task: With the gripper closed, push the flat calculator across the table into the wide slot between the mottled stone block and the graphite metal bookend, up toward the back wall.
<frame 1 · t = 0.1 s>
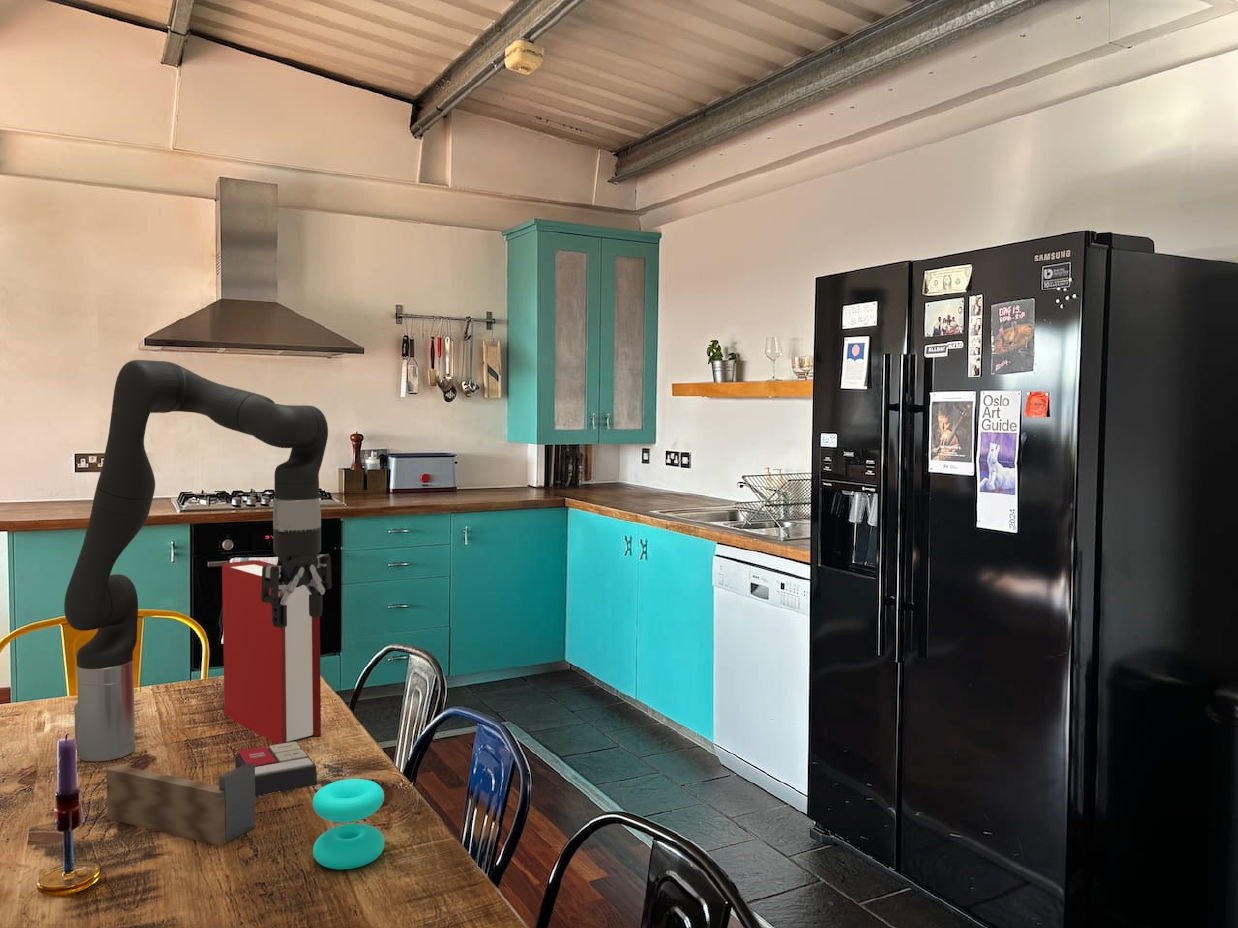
hand: (298, 621, 157), 29 cm above the table, tool pointing down, fingers open, 8 cm apart
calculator: (275, 779, 166), on the table
bookend: (247, 828, 145), on the table
mottled stone block: (193, 816, 149), on the table
donuts: (349, 857, 137), on the table
book: (269, 725, 192), on the table
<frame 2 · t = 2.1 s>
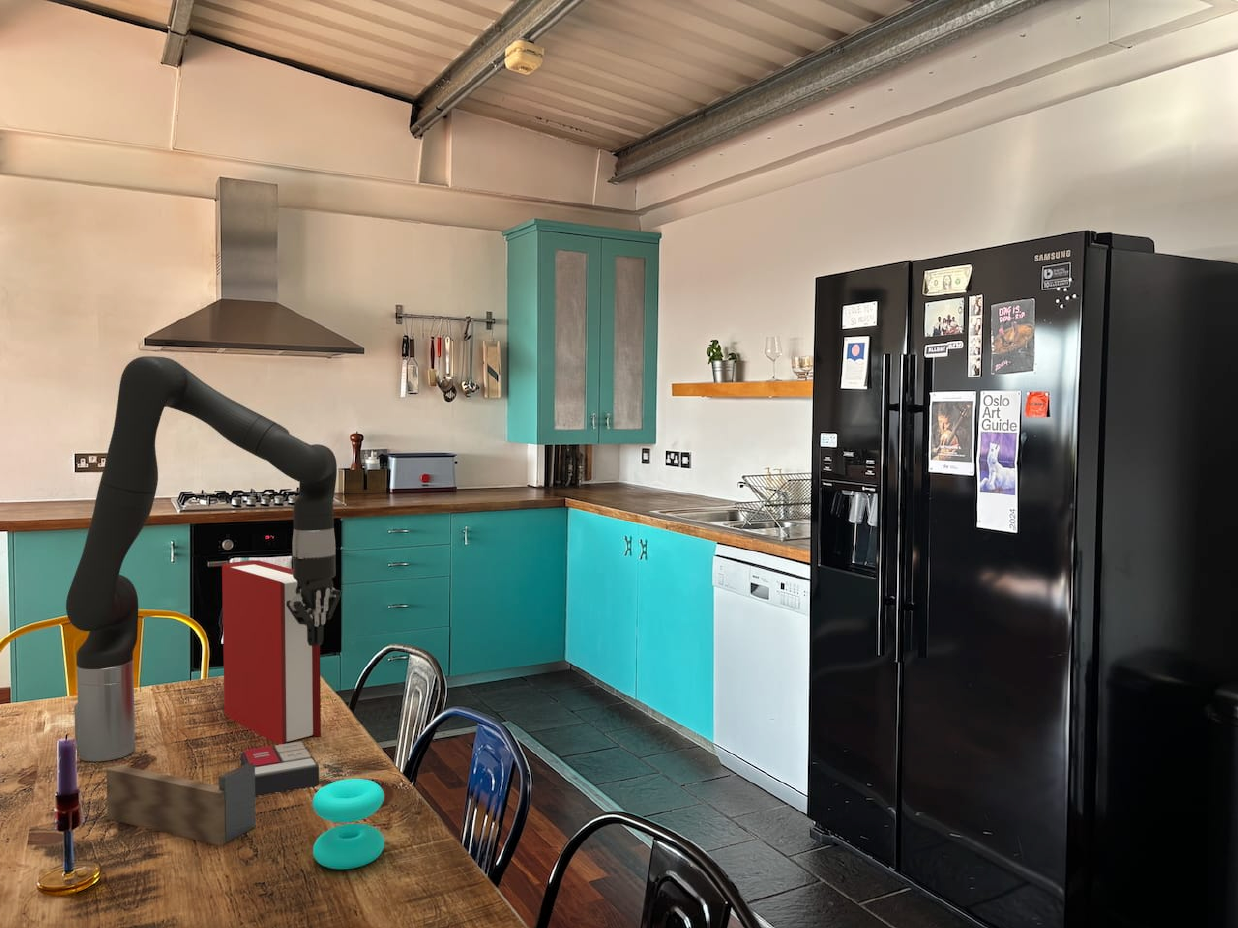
hand: (315, 644, 175), 21 cm above the table, tool pointing down, fingers closed
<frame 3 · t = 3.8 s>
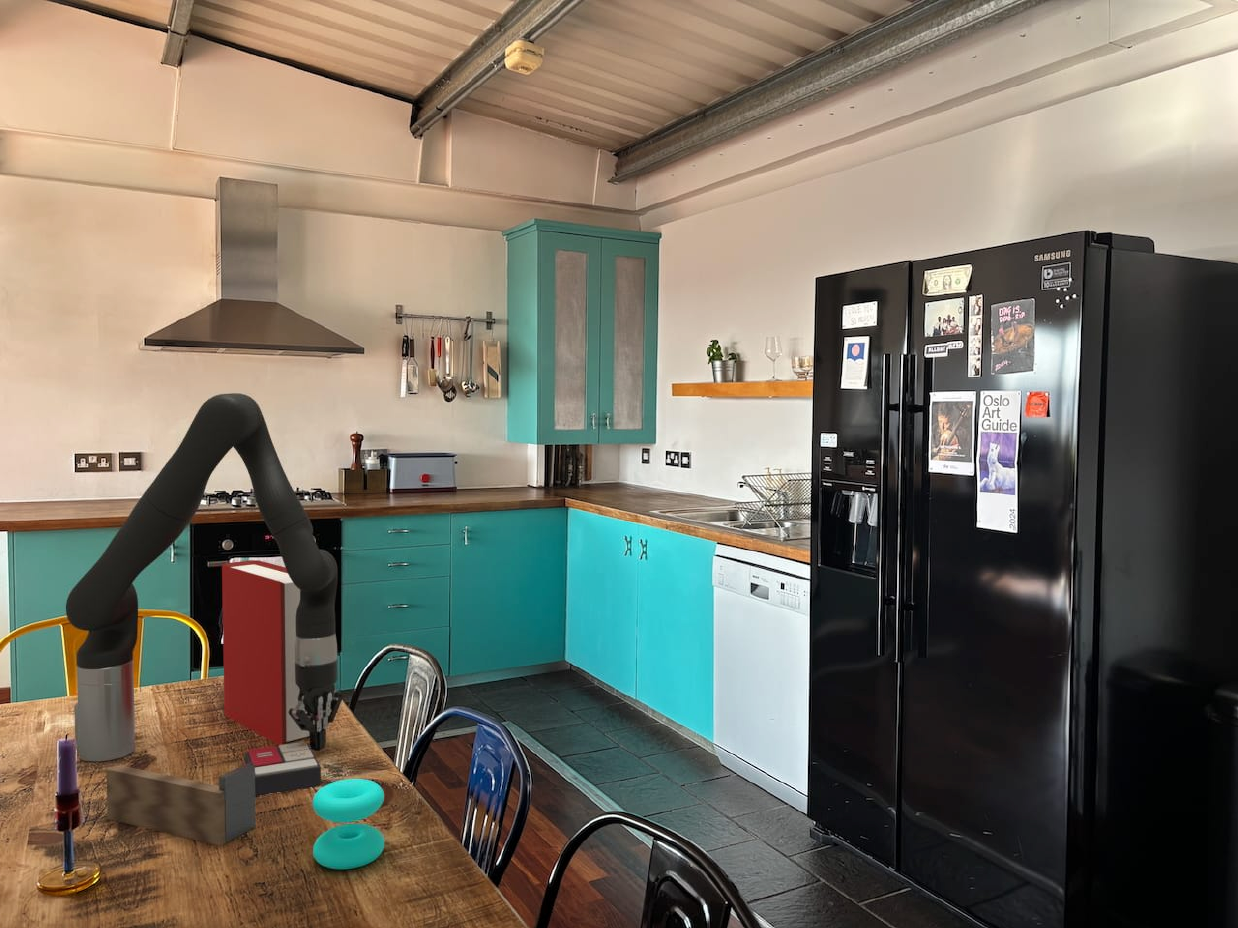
hand: (317, 749, 176), 1 cm above the table, tool pointing down, fingers closed
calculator: (282, 778, 166), on the table, touching gripper
everything else where it was.
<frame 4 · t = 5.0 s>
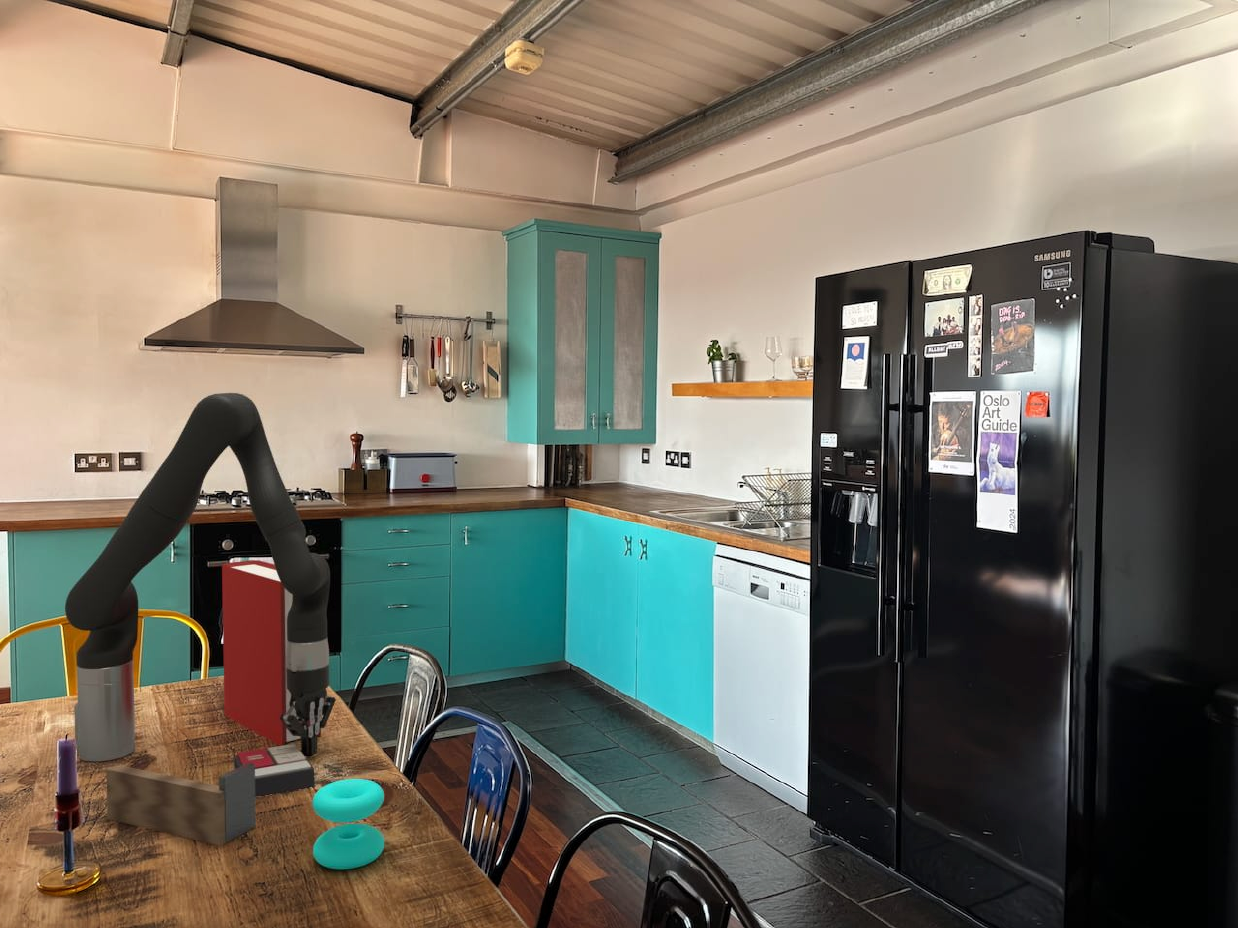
hand: (309, 754, 174), 1 cm above the table, tool pointing down, fingers closed
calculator: (273, 781, 165), on the table, touching gripper
everything else where it was.
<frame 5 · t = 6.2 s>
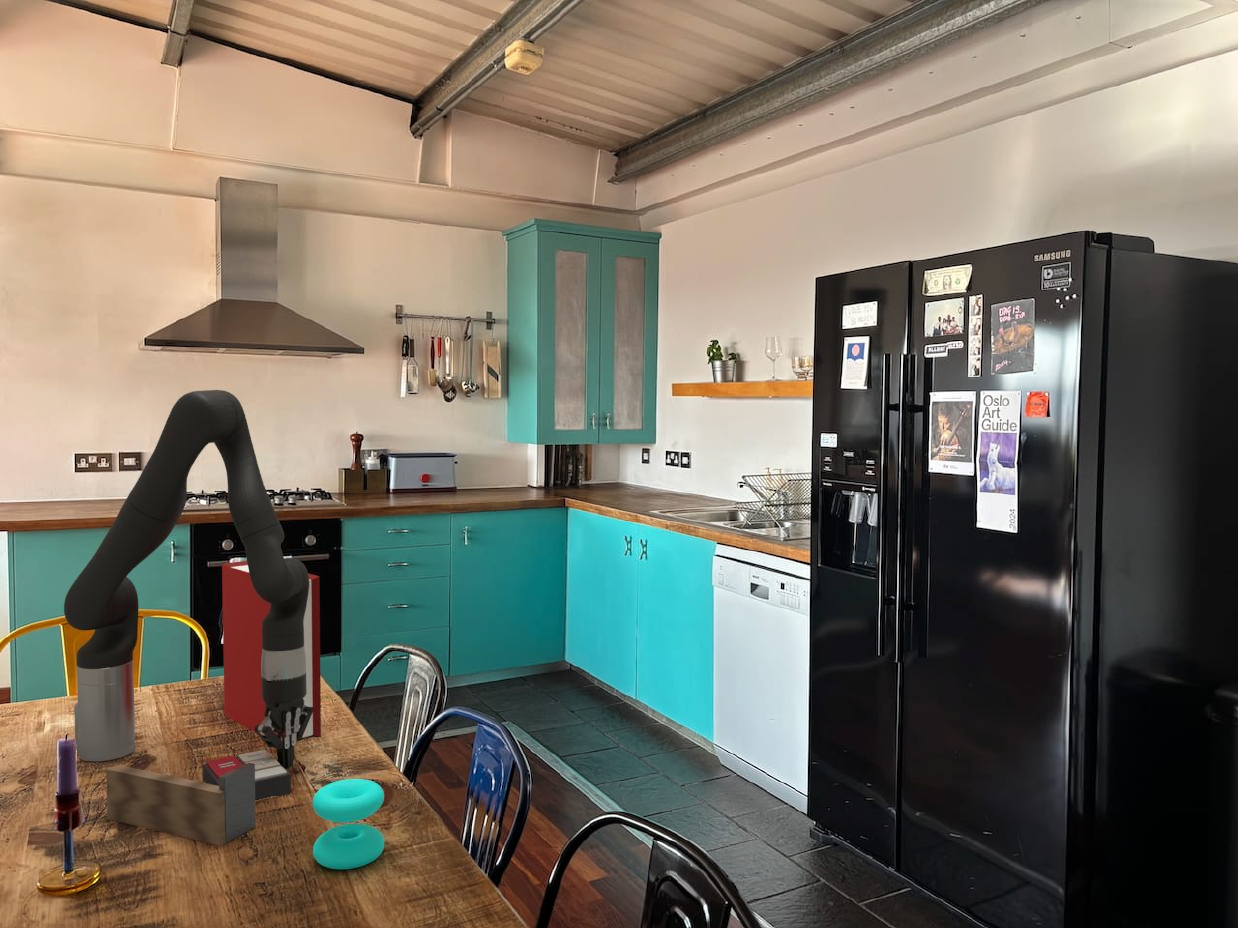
hand: (285, 766, 168), 1 cm above the table, tool pointing down, fingers closed
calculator: (246, 788, 162), on the table, touching gripper
everything else where it was.
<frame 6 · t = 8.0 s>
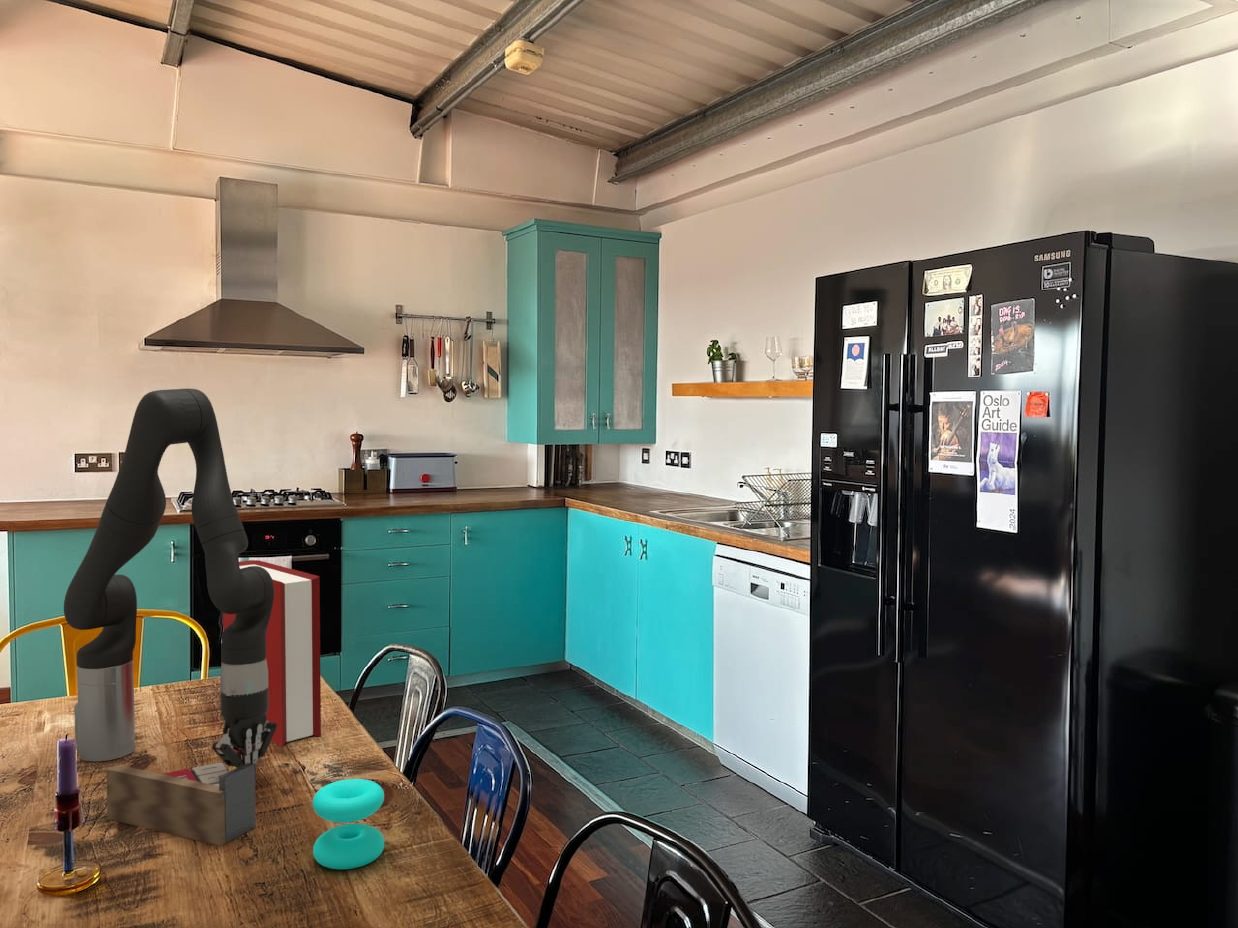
hand: (246, 786, 160), 1 cm above the table, tool pointing down, fingers closed
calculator: (198, 803, 156), on the table
everything else where it was.
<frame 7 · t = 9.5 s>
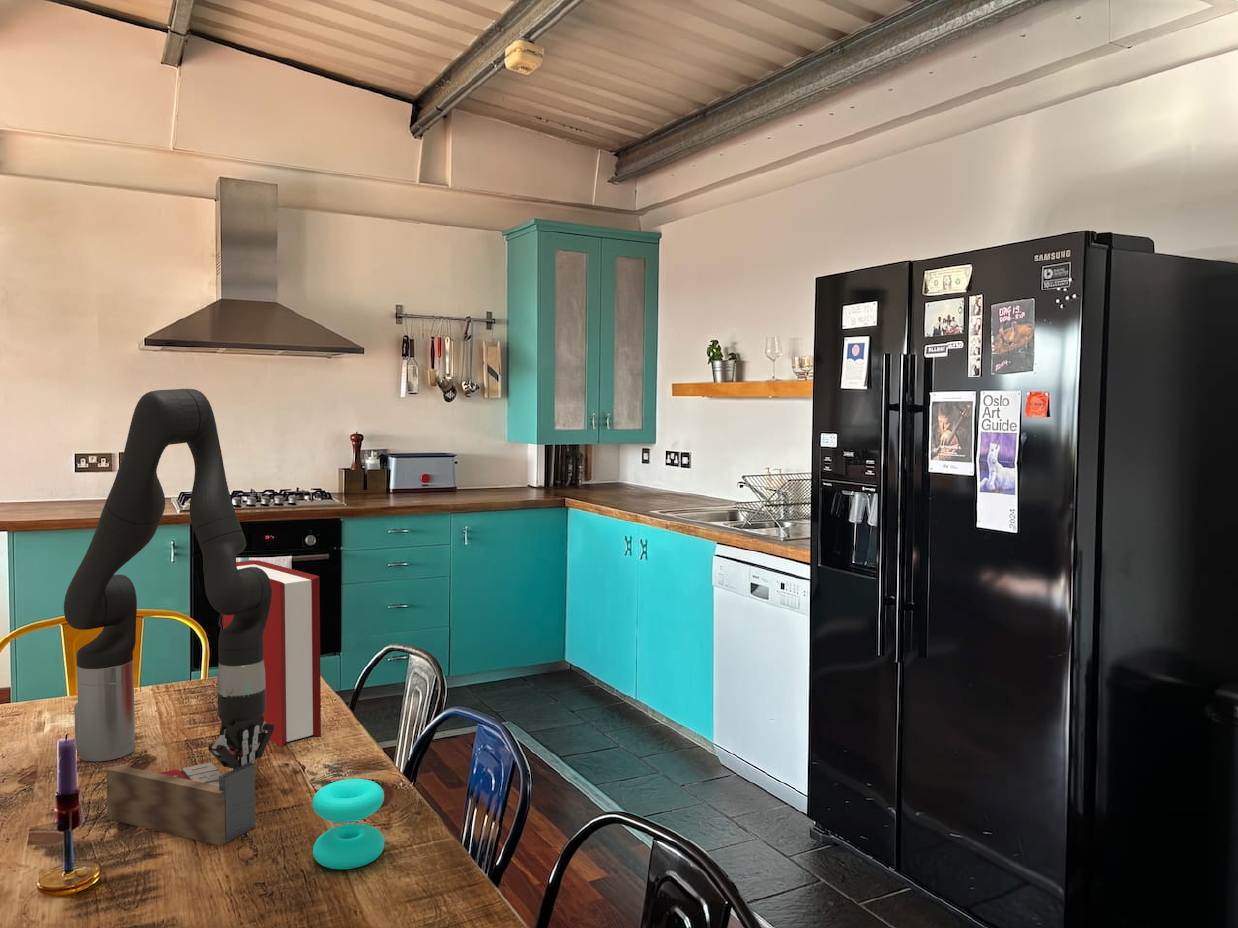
hand: (243, 787, 159), 1 cm above the table, tool pointing down, fingers closed
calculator: (190, 803, 156), on the table
everything else where it was.
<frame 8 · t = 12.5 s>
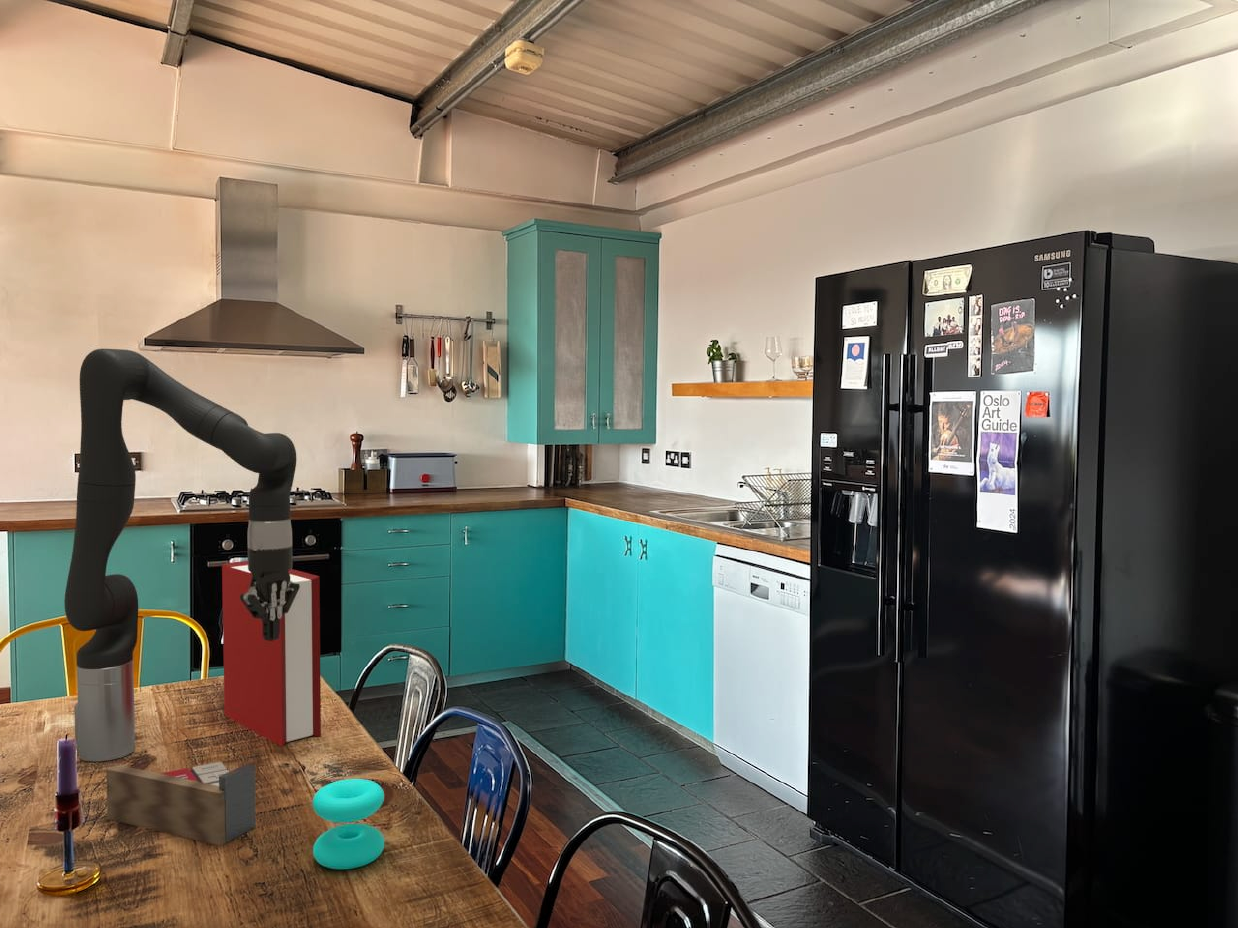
hand: (271, 639, 170), 23 cm above the table, tool pointing down, fingers closed
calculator: (199, 802, 156), on the table
everything else where it was.
at the end: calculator inside the target area (4.9 cm from its centre), on the table; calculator tilted 0°; the gripper is holding nothing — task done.
